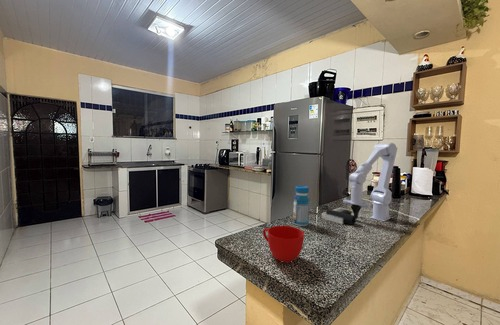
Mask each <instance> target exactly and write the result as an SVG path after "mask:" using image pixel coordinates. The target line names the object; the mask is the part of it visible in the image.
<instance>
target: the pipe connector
mask: <svg viewBox="0 0 500 325" xmlns="http://www.w3.org/2000/svg"><path fill="white" fill-rule="evenodd" d="M349 210H350V209H349ZM349 210H342V211H341V212H338V211H334V210H333V209H330V208H328V209H327V210H326V211H325V212H326V213H327V214H330V215H334V216H338V217H341V218H344V224H347V225H351V226H354V225H355V223H356V220H357V219H356V217H355V216H353V215H351V213H352V211H349Z"/></svg>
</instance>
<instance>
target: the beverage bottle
mask: <svg viewBox="0 0 500 325" xmlns="http://www.w3.org/2000/svg"><path fill="white" fill-rule="evenodd" d="M309 188H310V187H309V186H305V185H297V186H295V193H296V194H295V195H294V197H293V205H292V206H293V216H292V217H293V218H292V223H293V224H294V225H295V226H298V227H299V226H300V227H306V226H308V225H309V223H310V220H309V219H310V217H309V216H310V204H311V203H310V196H309V195H308V194H309Z"/></svg>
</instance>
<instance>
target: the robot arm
mask: <svg viewBox="0 0 500 325" xmlns="http://www.w3.org/2000/svg"><path fill="white" fill-rule="evenodd" d="M372 149H373V151H372V153H370V155H369V157H368V159H367V160H366V161H365V162H361V163H360V165H359V167H358V168H357V169H356V170H355V172H351V173H350V175H349V177H348V179H349V182H350V188H351V189H350V199H343V200H342V204H347V205H350V208H351V210H353V213H354V216H355V217H356V220H357V219H359V217H358V213H359V212H361V211H360V210H361V209H362V208H366V209H371V205H373V206H372V215H371V216H369V218H370V219H373V220H377V221H381V222H386V221H389V219H391V217H390V206H389V205H390V204H391V202H392V199H393V198H392V194H393V192H392V191H391V190H390V189H389V186H390V183H391V178H392V175H393V174H392V173H393V169H394V164H395V160H396V156H397V152H398V147H397V145H396V144H395V143H394V142H389V143H386V142H385V143H381V142H378V143H375V145H374V146H373V148H372ZM379 158H382V160H383V162H382V165H381V170H380V172H379V173H380V174H379V178H378V183H377V186H375V187H373V190H372V191H371V193H370V199H371V201H372V204H370V203H367V202H363V189H364V183H366V180H367V177H368V174H369V173H370V172H371V171H372V169H373V165H374V164H375V163H376V161H377V160H378V159H379Z"/></svg>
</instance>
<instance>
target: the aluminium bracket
mask: <svg viewBox="0 0 500 325" xmlns="http://www.w3.org/2000/svg"><path fill="white" fill-rule="evenodd" d="M332 210H334V211H338V212H341V211H342V210H349V211H352V213H351V215H353V216H354V213H353V210H352V209H349V208H345V207H337V208H334V209H332ZM361 216H362V214H361V211H359V213H358V219H359V218H361ZM321 219H324V220H326V221H329V222H334V223H335V224H340V225H344V224H345V223H344V218H341V217H338V216H334V215H330V214H327V213H326V211H324V212H321Z"/></svg>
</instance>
